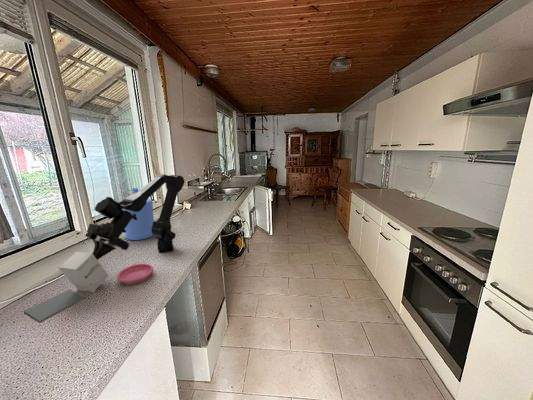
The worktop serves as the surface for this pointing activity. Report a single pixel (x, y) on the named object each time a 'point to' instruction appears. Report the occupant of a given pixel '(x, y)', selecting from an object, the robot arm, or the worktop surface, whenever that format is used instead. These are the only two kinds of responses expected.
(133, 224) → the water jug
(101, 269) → the supplement box
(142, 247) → the worktop surface
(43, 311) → the dark rubber mat
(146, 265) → the saucer
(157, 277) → the worktop surface
